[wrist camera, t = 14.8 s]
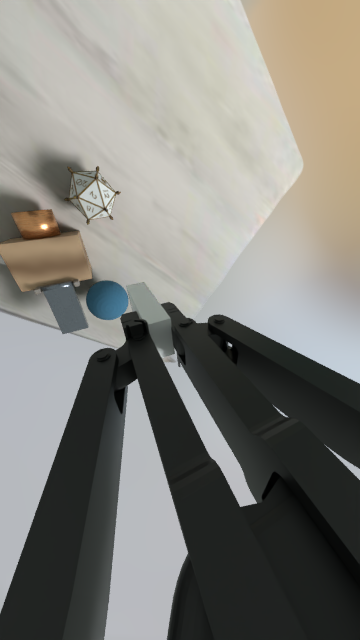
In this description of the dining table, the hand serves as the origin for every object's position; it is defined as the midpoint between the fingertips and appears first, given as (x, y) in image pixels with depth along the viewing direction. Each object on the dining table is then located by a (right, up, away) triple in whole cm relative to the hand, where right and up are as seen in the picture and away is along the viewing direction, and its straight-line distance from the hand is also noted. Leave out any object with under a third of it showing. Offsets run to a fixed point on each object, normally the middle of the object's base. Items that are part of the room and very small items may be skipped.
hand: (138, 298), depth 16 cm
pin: (-22, +11, +23) cm, 34 cm away
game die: (-14, +23, +21) cm, 34 cm away
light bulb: (-15, +6, +30) cm, 34 cm away
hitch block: (-22, +12, +23) cm, 34 cm away
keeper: (-19, +1, +21) cm, 28 cm away
